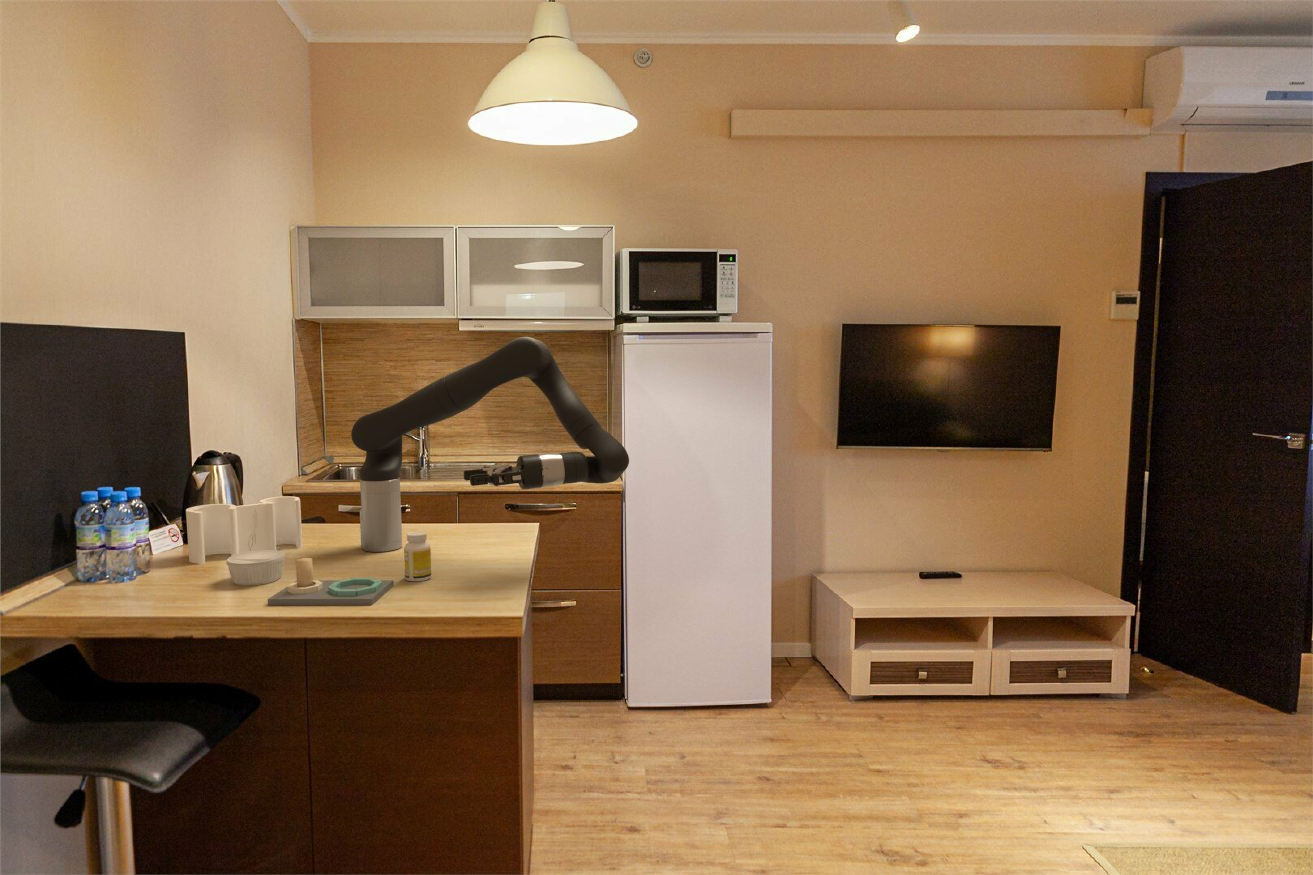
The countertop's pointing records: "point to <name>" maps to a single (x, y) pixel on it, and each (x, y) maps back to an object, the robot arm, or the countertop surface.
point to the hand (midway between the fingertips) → (467, 478)
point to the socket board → (329, 589)
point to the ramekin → (256, 567)
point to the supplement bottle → (417, 557)
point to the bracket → (243, 527)
